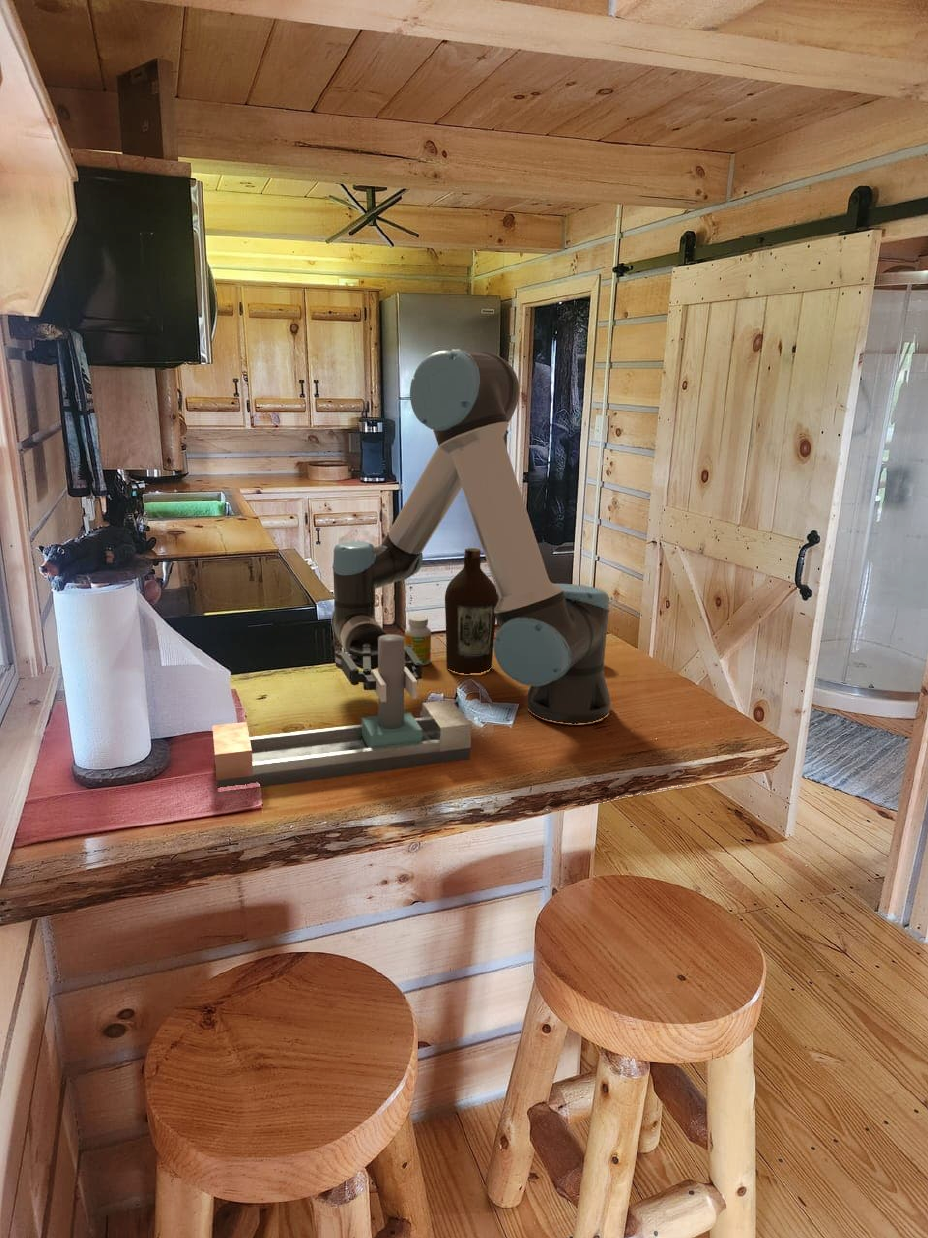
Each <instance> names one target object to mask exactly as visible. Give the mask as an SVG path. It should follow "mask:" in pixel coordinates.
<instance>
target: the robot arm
mask: <svg viewBox="0 0 928 1238" xmlns="http://www.w3.org/2000/svg"><path fill="white" fill-rule="evenodd" d="M409 400H410V405H411V406H410V407H411V410H412V411H413V413H414V415H415V417H416V419H417V420H418V421H419V422H420V423H421V424H422V425H424V426H425V427H427V428H429V430H433V434H434V437H435V439H436V443H437V447H436V449H435V451H434V453H433V455H432V457H431V458H430V460H429V462H428V463H427V465H426V466H425V468H424V470H423V472H422V474H421V475H420V477H419V479H418V480H417V482H416V484H415V486H414V487H413V489H412V491H411V493H410V494H409V496H408V498H407V500H406V502H405V503H404V504H403V507H402V508H401V510H400V512H399V514H398V515H397V517H396V519H395V521H394V523H392V526H391V528H390V529H389V531H388V532H387V535H386V536H385V538H384V539H383V541H382V543H381V544H380V545H378V546H374V544H372V543H370V542H367V541H362V540H361V541H360V540H353V541H351V540H350V541H342V542H339V543H337V544H336V545H335V546H334V549H333V560H332V561H333V563H332V567H331V568H332V572H333V573H332V574H333V575H332V576H333V578H332V579H333V599H334V601H333V611H332V614H331V619H330V624H331V629H332V631H333V632H334V635H335V636H336V638H337V639H338V641H339V642H340V644H341V646H342V647H343V648H344V651H342V650H336V651H335V653H334V655H335V656H334V659H335V662H334V663H335V667H337V668H338V669H340V670H341V671H342V673H343V674H344V676H345V677H346V678H347V680H348V681H349V683H350V685H352V686H358V685H359V684H360V683H363V684H362V685H363V688H362V689H363V690H364V691H374V693H375V695H376V696H377V697H378V698H379V699H380V701H381V702H386V683H385V682H384V680H383V679H382V677H381V676H380V674H379V673H378V638H379V637H380V636H383V635H388V634H387V633H386V631H385V630H384V628H383V627H382V626H381V625H380V624H379V623H378V621H377V620H376V590H377V589H379V588H382V587H385V586H388V585H390V584H392V583H393V584H394V583H396V582H399V581H404V580H407V579H409V578H410V577H412V576H414V575H416V574H417V573H418V572H419V571H420V569H421V568H422V565H423V559H424V558H423V551H424V549H425V548H426V546H427V545H428V543H429V541H430V540H431V539H432V537H433V535H434V533H435V532H436V530H437V528H438V527H439V526H440V524H441V522H442V520H443V519H444V517H446V514H447V512H448V511H449V509H450V508H451V506H452V504H454V501H455V500H456V498H457V496H458V494H459V493H460V491H461V490H463V493H464V497H465V500H466V502H467V505H468V509H469V512H470V514H471V517H472V521H473V523H474V526H475V529H476V532H477V536H478V539H479V542H480V545H481V547H482V551H483V553H484V557H485V559H486V563H487V565H488V568H489V571H490V574H491V578H492V582H493V584H494V585H495V588H496V591H497V597H498V600H497V605H496V607H495V609H494V614H495V617H496V623H497V625H498V630H497V632H496V635H495V637H494V643H493V653H494V657H495V660H496V661H497V664H498V665H499V667H500V669H501V670H502V671H503V672H504V673H505V675H507V676H508V678H510V679H512V680H515V681H516V682H517V683H519V684H521V685H524V686H528V687H529V689H528V692H527V694H526V705H527V706H526V709H527V708H528V709H529V710H530V711H531V712H532V713H534V714H535V715H537V716H539V717H541V718H544V719H547V720H552V721H556V722H563V723H572V724H575V723H576V724H578V723H588V722H593V721H596V720H599V719H601V718H604V717H605V716H606V715H607V714H608V713H609V711H610V712H611V704H612V703H611V697H610V693H609V689H608V685H607V682H606V677H605V673H604V667H605V657H606V645H607V644H606V643H607V636H608V635H607V631H608V623H609V622H608V621H609V613H610V611H611V610H610V597H609V594H608V593H607V592H606V591H605V590H603V589H601V588H597V587H592V586H586V585H579V584H570V583H553V582H551V580H550V579H549V575H548V572H547V569H546V566H545V562H544V559H543V556H542V553H541V551H540V548H539V544H538V541H537V539H536V536H535V532H534V529H533V526H532V523H531V521H530V516H529V513H528V511H527V508H526V504H525V501H524V498H523V496H522V492H521V488H520V486H519V483H518V480H517V476H516V474H515V471H514V467H513V465H512V461H511V457H510V454H509V452H508V449H507V445H506V442H505V440H504V439H505V438H504V437H505V433H506V432H507V429H508V427H509V423H510V421H511V420H512V417H514V413H515V412H516V409H517V407H518V403H519V400H520V383H519V379H518V376H517V373H516V371H515V370H514V368H513V367H512V365H511V364H510V363H509V362H508V361H507V360H506V359H504V358H503V357H501V356H500V355H497V354H493V353H489V352H476V351H464V350H462V349H458V348H455V349H453V348H452V349H448V350H440V351H437V352H433V353H431V354H430V355H427V356H426V357H425V358H424V359H423V360H422V361H421V362H420V363H419V364H418V366H417V368H416V369H415V372H414V375H413V377H412V379H411V381H410V386H409ZM360 669H362V670H360ZM420 679H423V666H422V662H421V661H420V660H419V658H418V657H417V656H416V654H415V653H414V651H413V646H412V645H407V646H406V648H405V659H404V690H406V692H407V693H408V695H409V696H410V697H411V699H413V700H415V699H418V685H419V684H418V683H419V680H420ZM378 698H377V699H378Z"/></svg>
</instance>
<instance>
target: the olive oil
mask: <svg viewBox="0 0 928 1238" xmlns="http://www.w3.org/2000/svg"><path fill="white" fill-rule="evenodd" d="M481 554H482V553H481V549H480V548H476V547H469V548H466V549H464V556H463V568H462V569H461V570H460V571H459V572H458V573H457V574H456V575H455V576H454V577H453V578H452V579H451V580H450V581H449V583H448V584H447V587H446V589H445V592H444V594H445V595H444V610H445V611H444V612H445V614H444V616H445V639H446V640H445V658H446V660H445V661H446V663H445V664H446V666H447V667H446V669H447V668H448V669H450V670H452V671H455V672H458V673H464V674H470V673H481V672H484V671H487V670H489V669H490V668H491V667H493V656H494V655H493V653H494V640H495V631H496V622H497V620H496V617H495V614H494V609H495V607H496V605H497V603H498V600H499V596H498V593H497V590H496V587H495V584H494V581H493V580H491V579H490V578H489V577H488V576H487V574H486V573H485V572H484V571H483V570H482V567H481V561H482V556H481ZM448 669H447V670H448Z"/></svg>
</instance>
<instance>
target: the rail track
mask: <svg viewBox="0 0 928 1238" xmlns="http://www.w3.org/2000/svg"><path fill="white" fill-rule="evenodd" d="M421 706H422V707H421V708H422V709H421V710H422V717H414V718H415V720H416V721H417V723H418V724H419V726H420V727H421V729H422V741H421V742H413V743H405V744H397V745H389V746H381V747H373V748H368V746H367V744H366V742H365V740H364V738H363V736H362V723H361V724H352V725H346V726H336V727H328V728H320V729H319V728H318V729H310V730H309V729H308V730H301V731H291V732H284V733H283V732H282V733H277V734H276V733H275V734H267V735H256V736H250V732H249V728H248V723H247V721H243V722H235V723H233V722H232V723H225V724H216V725H212V726H211V727H212V738H213V739H212V740H213V751H214V753H213V754H214V764H215V766H216V767H215V766H214V767H215V775H216V777H215V778H217V779H216V788H220V787H227V786H235V785H245V784H246V785H247V784H250V783H256V782H258V783H259V784H260V786H261V787H260V788H264V787H271V786H272V787H274V786H280V785H286V784H287V785H288V784H295V783H302V782H310V781H318V780H324V779H325V780H326V779H331V778H340V777H346V776H355V775H356V776H357V775H361V774H362V775H363V774H369V773H378V772H384V771H392V770H399V769H407V768H413V767H414V768H415V767H421V766H423V767H424V766H430V765H437V764H443V763H453V762H460V761H466V760H468V761H469V760H471V751H472V750H471V748H472V745H471V744H472V742H471V741H472V723H471V722H470V721H469V720H468V718H467V717H466V716H465V715H464V713H463V712H462V710H461V709H459V707H458V706H457V704H456V703H455V702H454V701H453V700H452V699H447V700H439V701H429V702H423V703H422V705H421Z"/></svg>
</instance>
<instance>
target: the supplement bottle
mask: <svg viewBox="0 0 928 1238" xmlns="http://www.w3.org/2000/svg"><path fill="white" fill-rule="evenodd" d="M407 622H408V625H409V626H407V627H406V628H405V631H404V638H405V648H406V646H407V645H412V646H413V651H414V653H415V654H416V656H417V657H418V658H419V660H420V661H421V662H422V667H423V666H426V665H429V664H430V663H431V660H432V659H431V658H432V657H431V654H432V653H431V652H432V651H431V650H432V647H431V646H432V644H431V643H432V631H431V628H430V627H428V624H429V623H428V622H429V618H428V617H427V616H425V615H411V616H408V621H407Z"/></svg>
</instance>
